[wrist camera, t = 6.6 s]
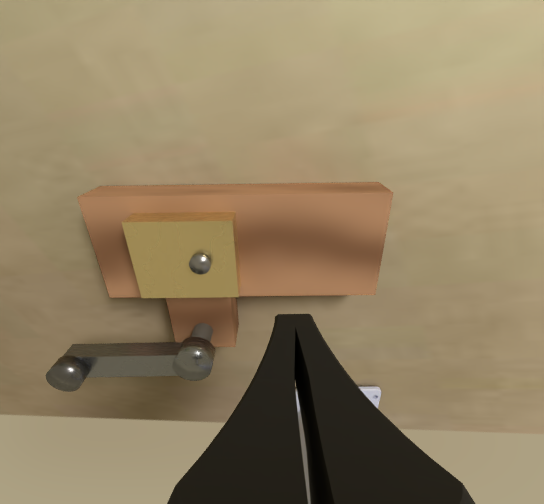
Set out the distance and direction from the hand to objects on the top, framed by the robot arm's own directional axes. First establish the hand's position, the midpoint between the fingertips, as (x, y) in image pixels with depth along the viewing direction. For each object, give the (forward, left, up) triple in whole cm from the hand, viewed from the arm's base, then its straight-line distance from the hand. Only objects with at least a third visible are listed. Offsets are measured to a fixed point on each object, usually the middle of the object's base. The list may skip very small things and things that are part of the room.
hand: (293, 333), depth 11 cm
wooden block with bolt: (0, +6, -7) cm, 10 cm away
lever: (-6, +10, -6) cm, 13 cm away
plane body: (-2, +3, -10) cm, 11 cm away
